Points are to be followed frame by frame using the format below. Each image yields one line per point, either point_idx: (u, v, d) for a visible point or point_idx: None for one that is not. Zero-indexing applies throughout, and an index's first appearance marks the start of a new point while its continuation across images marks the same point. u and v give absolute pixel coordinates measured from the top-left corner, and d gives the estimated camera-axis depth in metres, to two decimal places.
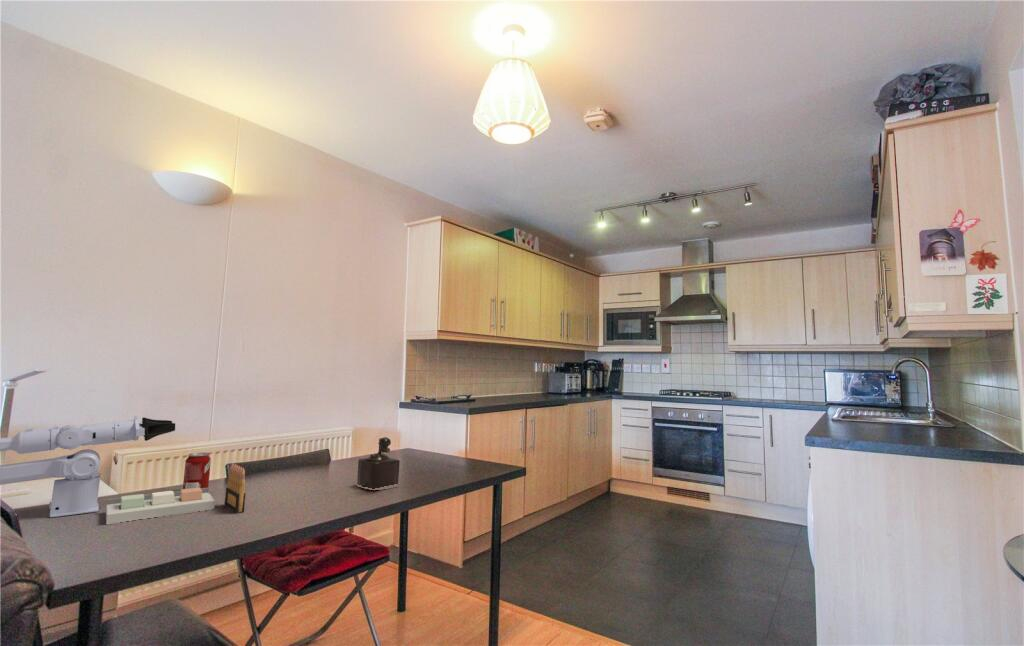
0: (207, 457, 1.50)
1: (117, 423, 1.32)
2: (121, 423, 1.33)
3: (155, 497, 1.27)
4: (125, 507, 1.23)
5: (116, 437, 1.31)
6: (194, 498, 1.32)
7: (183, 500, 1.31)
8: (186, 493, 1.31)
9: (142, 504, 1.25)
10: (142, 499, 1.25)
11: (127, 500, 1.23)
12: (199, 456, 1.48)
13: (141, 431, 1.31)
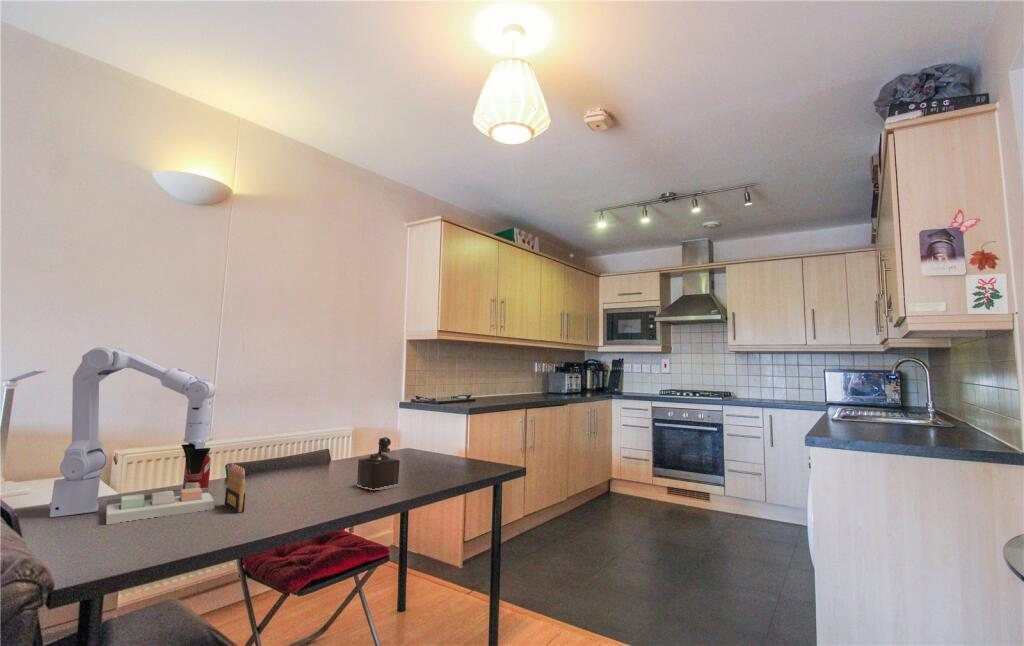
0: (207, 457, 1.50)
1: (208, 424, 1.36)
2: (208, 427, 1.36)
3: (155, 497, 1.27)
4: (125, 507, 1.23)
5: (194, 425, 1.33)
6: (194, 498, 1.32)
7: (183, 500, 1.31)
8: (186, 493, 1.31)
9: (142, 504, 1.25)
10: (142, 499, 1.25)
11: (127, 500, 1.23)
12: None
13: (201, 446, 1.30)
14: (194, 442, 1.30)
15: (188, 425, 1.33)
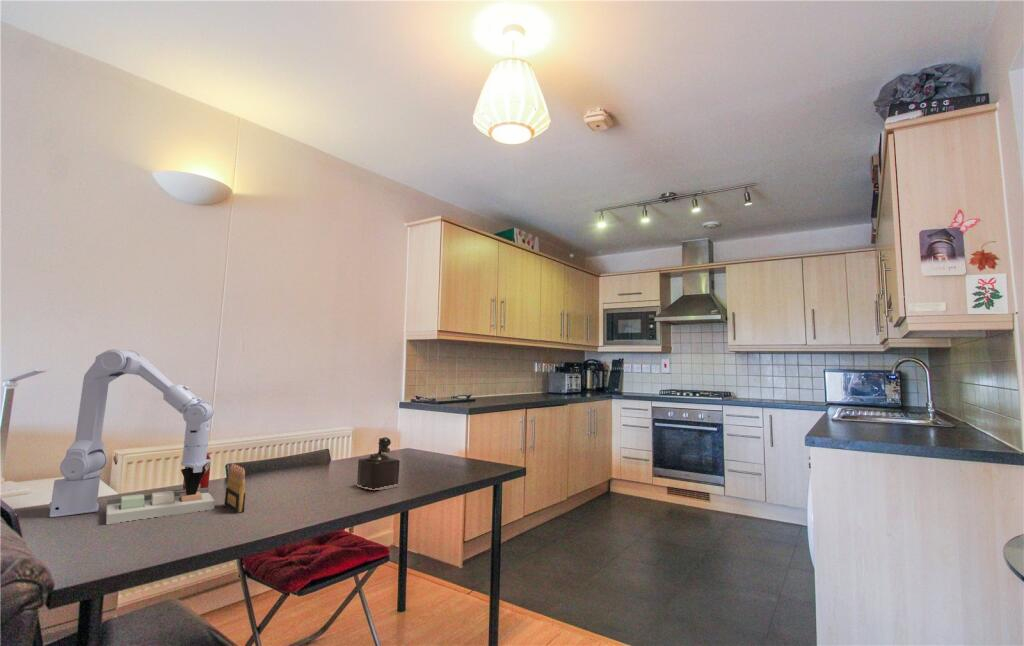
0: (207, 457, 1.50)
1: (206, 447, 1.36)
2: (206, 450, 1.36)
3: (155, 497, 1.27)
4: (125, 507, 1.23)
5: (191, 448, 1.33)
6: None
7: None
8: (186, 497, 1.31)
9: (142, 504, 1.25)
10: (142, 499, 1.25)
11: (127, 500, 1.23)
12: None
13: (198, 469, 1.29)
14: (192, 466, 1.30)
15: (186, 448, 1.33)
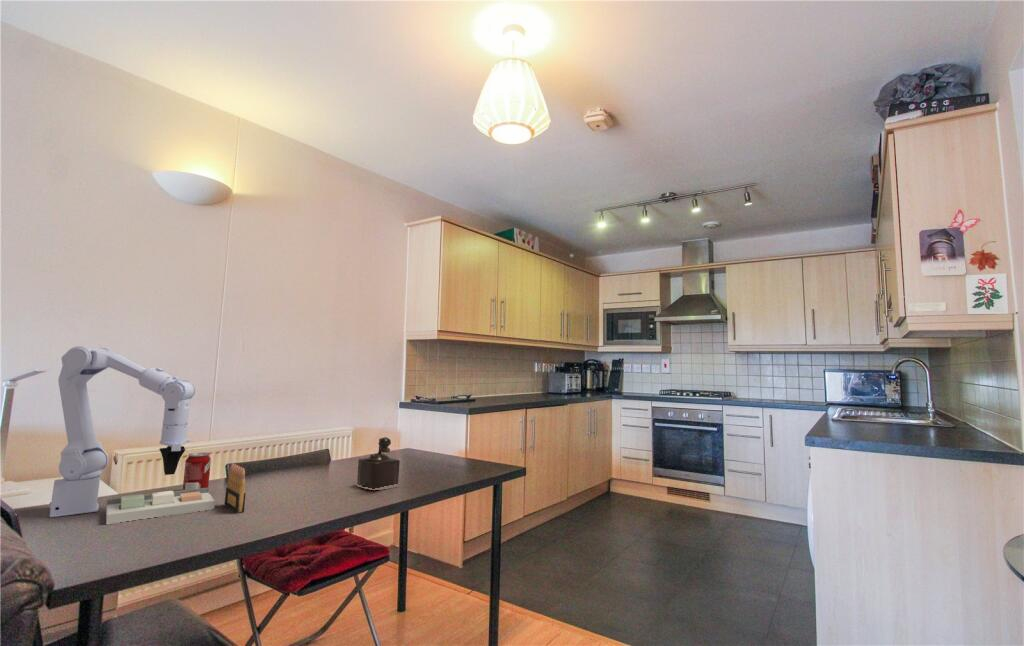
0: (207, 457, 1.50)
1: (186, 426, 1.33)
2: (185, 429, 1.33)
3: (155, 497, 1.27)
4: (125, 507, 1.23)
5: (170, 426, 1.30)
6: None
7: None
8: (186, 497, 1.31)
9: (142, 504, 1.25)
10: (142, 499, 1.25)
11: (127, 500, 1.23)
12: (199, 456, 1.48)
13: (177, 448, 1.27)
14: (170, 444, 1.27)
15: (164, 427, 1.30)
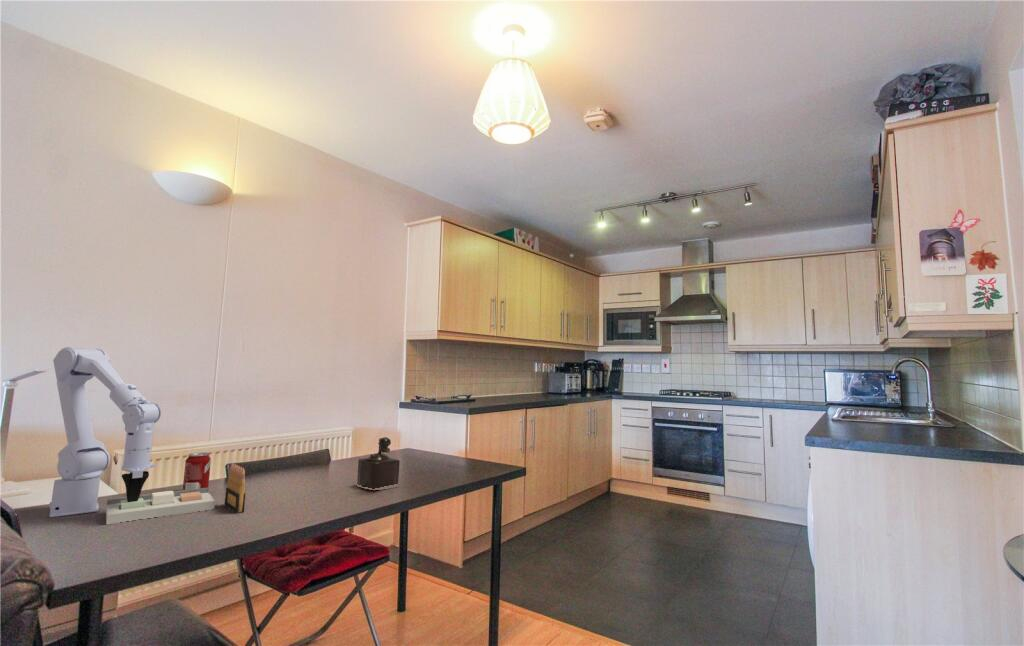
0: (207, 457, 1.50)
1: (149, 451, 1.27)
2: (149, 454, 1.27)
3: (155, 497, 1.27)
4: None
5: (132, 452, 1.24)
6: None
7: None
8: (186, 497, 1.31)
9: None
10: (142, 503, 1.25)
11: (127, 504, 1.23)
12: (199, 456, 1.48)
13: (138, 475, 1.21)
14: (131, 471, 1.21)
15: (126, 452, 1.24)
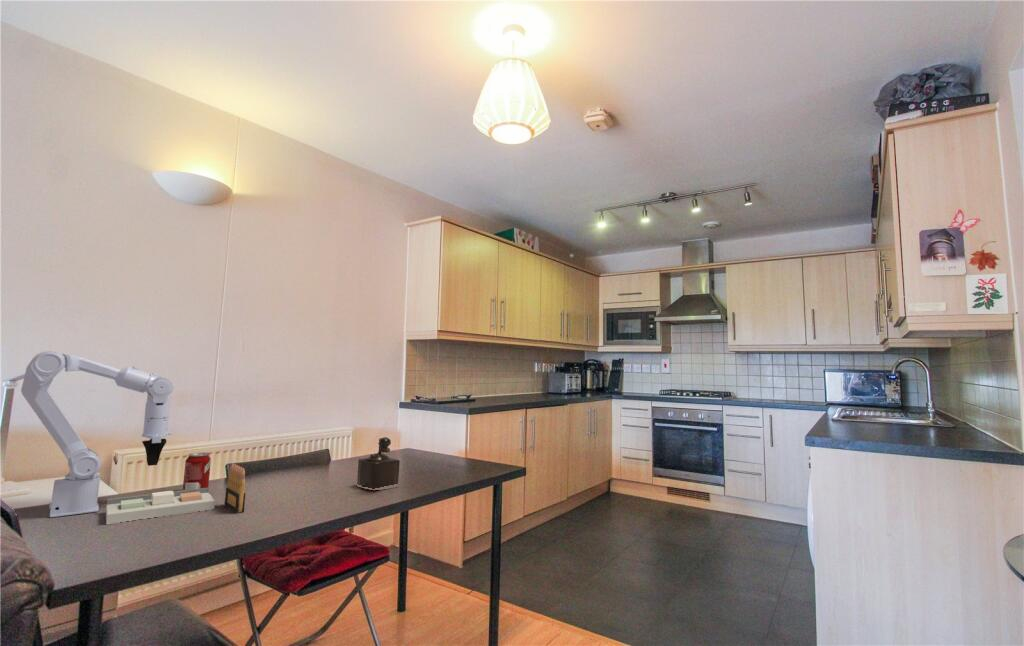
0: (207, 457, 1.50)
1: (167, 420, 1.41)
2: (166, 422, 1.40)
3: (155, 497, 1.27)
4: None
5: (151, 420, 1.37)
6: None
7: None
8: (186, 497, 1.31)
9: None
10: (142, 503, 1.25)
11: (126, 505, 1.23)
12: (199, 456, 1.48)
13: (157, 440, 1.34)
14: (151, 437, 1.34)
15: (146, 420, 1.37)
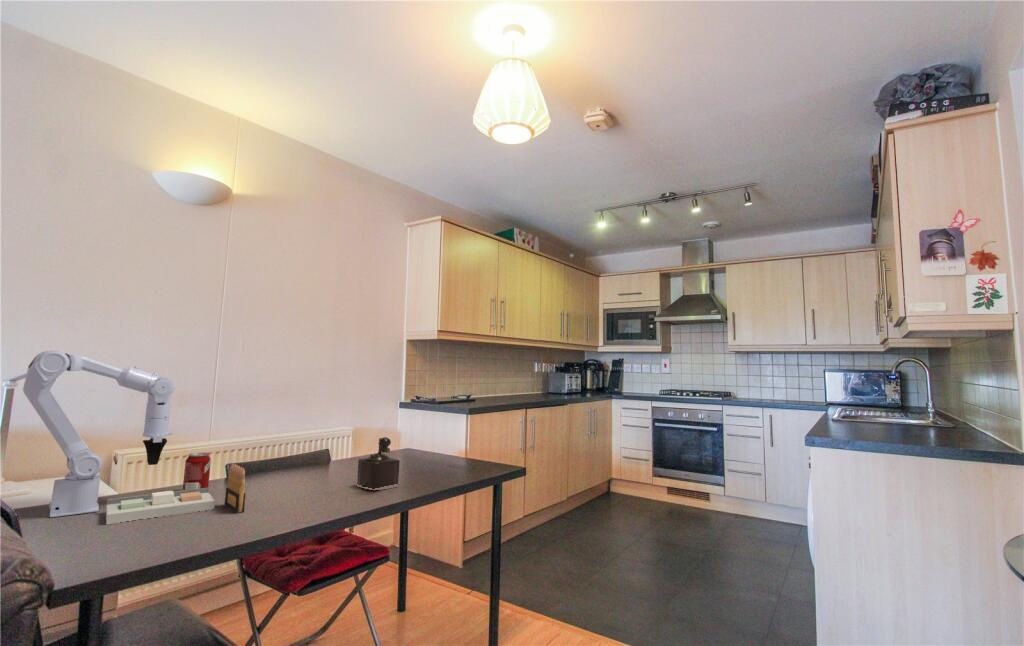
0: (207, 457, 1.50)
1: (167, 419, 1.42)
2: (167, 422, 1.41)
3: (155, 497, 1.27)
4: None
5: (152, 420, 1.38)
6: None
7: None
8: (186, 497, 1.31)
9: None
10: (142, 503, 1.25)
11: (126, 505, 1.23)
12: (199, 456, 1.48)
13: (158, 439, 1.35)
14: (152, 436, 1.35)
15: (147, 420, 1.38)
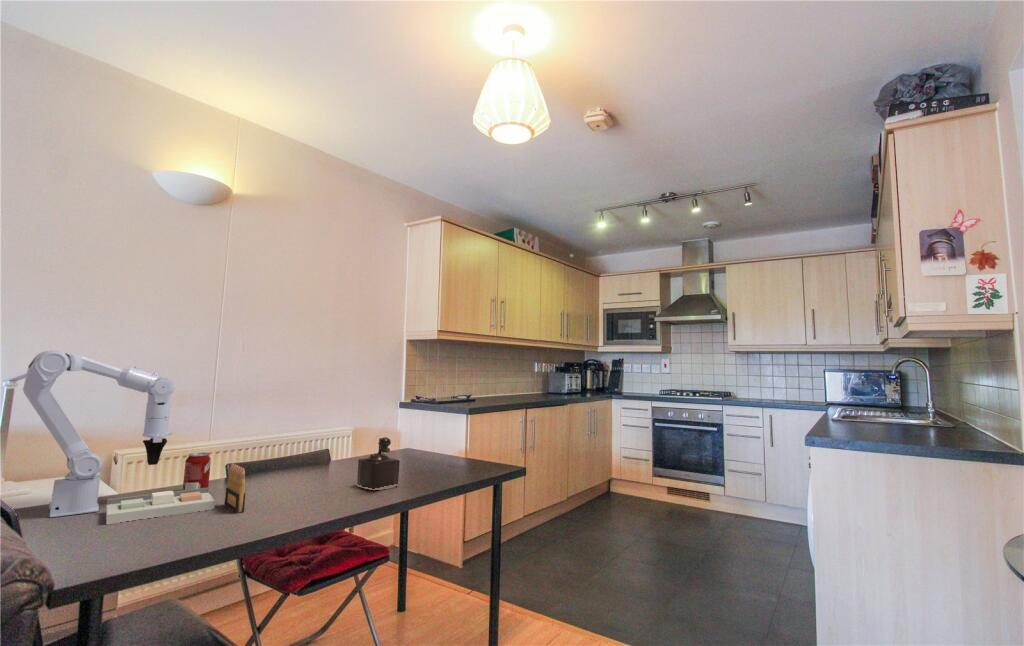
0: (207, 457, 1.50)
1: (167, 419, 1.42)
2: (167, 422, 1.41)
3: (155, 497, 1.27)
4: None
5: (152, 420, 1.38)
6: None
7: None
8: (186, 497, 1.31)
9: None
10: (142, 503, 1.25)
11: (126, 505, 1.23)
12: (199, 456, 1.48)
13: (158, 439, 1.35)
14: (152, 436, 1.35)
15: (147, 420, 1.38)
